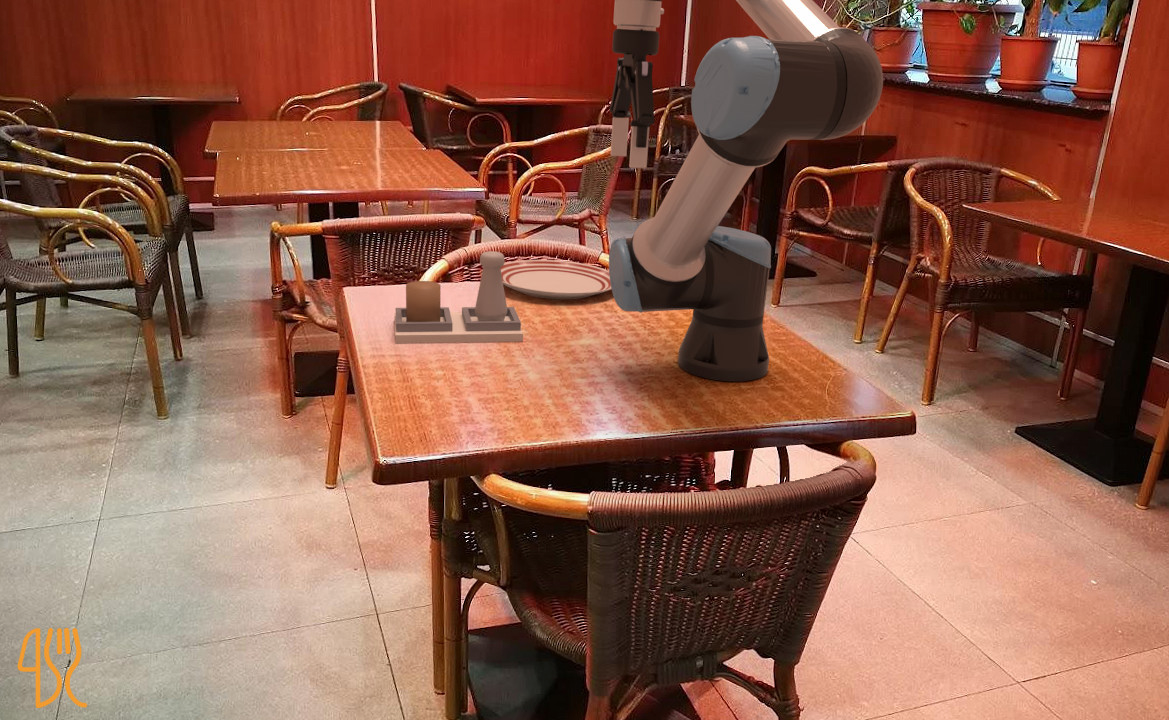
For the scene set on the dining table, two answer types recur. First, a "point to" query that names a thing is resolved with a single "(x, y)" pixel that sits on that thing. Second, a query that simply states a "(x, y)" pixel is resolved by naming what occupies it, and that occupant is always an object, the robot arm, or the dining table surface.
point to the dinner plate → (555, 279)
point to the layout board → (448, 320)
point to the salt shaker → (491, 289)
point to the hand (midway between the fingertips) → (627, 161)
